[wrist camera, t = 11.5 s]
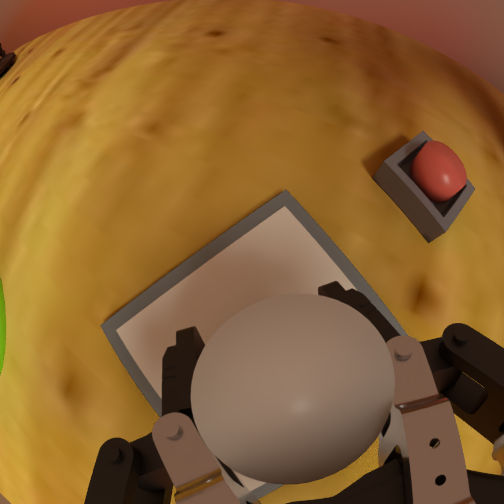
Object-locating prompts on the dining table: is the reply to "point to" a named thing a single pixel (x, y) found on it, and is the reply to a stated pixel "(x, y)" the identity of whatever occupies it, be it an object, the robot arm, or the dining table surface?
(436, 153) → the button
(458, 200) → the button base
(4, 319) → the wineglass
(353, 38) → the dining table surface
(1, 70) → the scroll
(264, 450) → the canister
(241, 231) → the board
